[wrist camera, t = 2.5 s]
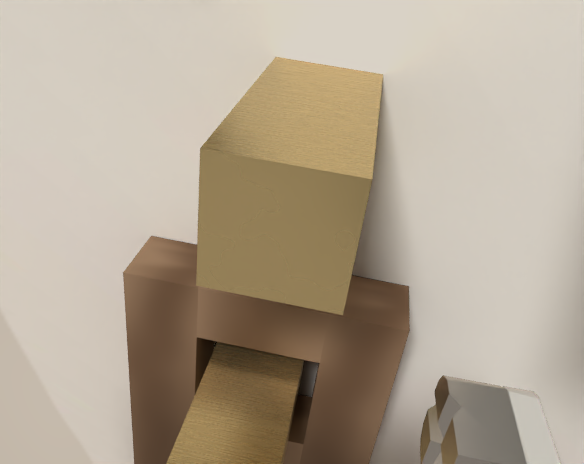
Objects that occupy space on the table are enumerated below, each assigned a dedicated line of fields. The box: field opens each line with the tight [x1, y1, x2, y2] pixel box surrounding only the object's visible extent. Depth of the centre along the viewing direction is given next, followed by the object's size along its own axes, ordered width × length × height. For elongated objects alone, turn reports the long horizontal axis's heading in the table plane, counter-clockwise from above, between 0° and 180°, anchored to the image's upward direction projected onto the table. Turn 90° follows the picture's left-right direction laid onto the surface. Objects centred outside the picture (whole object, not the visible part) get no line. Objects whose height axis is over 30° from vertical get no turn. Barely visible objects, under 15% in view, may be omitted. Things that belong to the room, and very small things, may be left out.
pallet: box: [123, 236, 410, 464], centre depth 29 cm, size 12×20×3 cm, turn 173°
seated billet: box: [166, 342, 304, 464], centre depth 24 cm, size 4×4×9 cm
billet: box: [196, 57, 383, 315], centre depth 17 cm, size 4×4×9 cm
